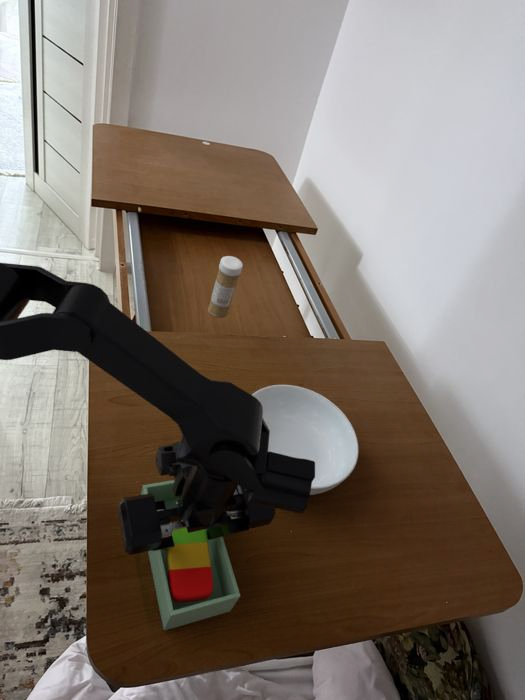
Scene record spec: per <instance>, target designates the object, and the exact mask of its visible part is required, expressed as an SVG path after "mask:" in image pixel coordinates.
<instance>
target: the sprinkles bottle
mask: <svg viewBox="0 0 525 700" xmlns="http://www.w3.org/2000/svg"><path fill="white" fill-rule="evenodd" d="M243 266H244V265H243V262H242V261H241V260H240V259H239V258H238V257H235V256H234V255H233V256H232V255H226V256H222V257H221V259H220V262H219V265H218V272H217V276H216V279H215V283H214V286H213V290H212V293H211V297H210V300H209V301H210V302H209V305H208V307H207V311H208V313H209V314H210V315H211V316H212V317H214V318H216V319H217V318H218V319H224V318H226V317H227V316H228V315H229V310H230V307H231V304H232V301H233V299H234V295H235V290H236V287H237V284H238V280H239V278H240V275H241V273H242V271H243V268H244V267H243Z"/></svg>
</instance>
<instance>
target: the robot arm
mask: <svg viewBox="0 0 525 700" xmlns="http://www.w3.org/2000/svg"><path fill="white" fill-rule="evenodd" d="M30 301H32V302H33V301H34V302H42V303H44V302H45V303H47V304H48V305H50V306H51V307H54V310H53V311H52V313H51V312H40V313H36V314H31V315H26V316H22V317H20V316H21V315H22V313H23V312H24V310H25V309H26V307H27V306H28V304H29V303H30ZM50 351H61V352H70V353H78V354H80V355H81V356H82V357H84V358H85V359H87V360H88V361H90V362H91V363H92V364H94V365H95V366H96V367H98V368H99V369H101V370H102V371H104V372H105V373H107V374H108V375H109V376H111V377H112V378H113V379H115V380H117V381H118V382H119V383H120V384H122V385H124V386H125V387H126V388H128V389H129V390H131V391H132V392H133V393H135V394H136V395H137V396H138V397H140V398H142V399H143V400H145V401H146V402H148V403H149V404H150V405H152V406H153V407H155V408H156V409H158V410H159V411H160V412H162V413H163V414H165V415H166V416H168V418H170V419H171V420H172V421H173V422H175V424H176V425H177V426H178V428H179V431H180V432H181V439H180V441H175V442H172V444H167V445H163V446H162V445H161V446H158V447H157V449H156V450H157V451H156V453H155V454H156V455H155V466H156V468H157V471H158V474H159V475H160V476H168V477H173V480H175V481H174V484H173V487H172V488H173V492H174V496H179V500H177V502H176V505H177V508H172V509H166V507H165V503H164V500H162V501H157V502H155V499H154V496H153V495H152V493H149V494H144V495H141V494H139V495H133V496H132V495H131V496H127V497H123V498H122V499H121V500H120V502H119V503H118V506H117V507H118V508H117V514H118V520H119V526H120V533H121V536H122V543H123V549H124V552H125V553H126V554H128V555H130V556H132V555H137V554H141V553H146V552H148V551H157V550H167V549H170V548H172V547H174V541H173V537H172V532H173V530H177V529H182V528H187V531H188V533H190V532H195V531H200V530H204V529H207V537H208V540H212V539H216V538H220V537H223V538H224V537H226V536H227V537H228V536H231V535H234V534H235V535H236V534H239V533H242V532H246V531H247V532H248V531H249V530H250V529H255V528H261V527H264V526H268V525H271V523H272V521H273V520H274V518H275V517H276V514H277V513H276V512H277V511H276V509H278V510H282V511H287V512H291V513H295V514H299V515H303V514H304V512H305V511H306V510H307V508H308V501H309V498H310V496H311V495H310V491H311V485H312V481H313V480H314V478H315V462H314V461H311V460H307V459H301V458H294V457H290V456H286V455H282V454H278V453H274V452H270V451H269V452H268V446H269V435H270V430H269V428H268V427H267V425H266V423H265V421H264V419H263V418H262V416H263V407H262V404H261V403H260V402H259V400H258V399H257V398H255V397H254V396H252V394H251V393H249V392H248V391H246V390H244V389H242V388H241V387H239V386H237V385H236V384H234V383H232V382H230V381H226V380H215V379H210V378H207V377H206V376H205V375H203V374H202V373H200V372H199V371H197V370H196V369H195V368H194V367H192V366H191V365H190V364H189V363H187V362H186V361H185V360H183V358H181V357H180V356H178V355H177V354H176V353H175V352H173V351H172V350H171V349H169V348H168V347H167V346H166V345H165V344H163V343H162V342H161V341H160V340H158V339H157V338H155V337H154V336H153V335H152V334H151V333H149V332H148V331H147V330H146V329H144V328H143V327H142V326H141V325H139V324H138V323H137V322H135V320H133V319H132V318H130V317H129V316H128V315H127V314H125V313H124V312H123V311H122V310H121V309H119V308H118V307H116V306H115V305H114V304H113V303H111V301H110V298H109V296H108V294H107V293H106V292H105V291H104V289H102V288H101V287H99V286H98V285H95V284H92V283H88V282H81V281H71V280H66V279H64V278H62V277H60V276H58V275H57V274H54V273H53V272H51V271H49V270H47V269H45V268H44V267H41V266H39V265H38V266H37V265H28V264H17V263H10V262H9V263H8V262H0V361H13V360H17V359H21V358H24V357H30V356H33V355H38V354H42V353H46V352H50ZM172 522H173V523H172Z"/></svg>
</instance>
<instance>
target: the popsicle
mask: <svg viewBox="0 0 525 700" xmlns="http://www.w3.org/2000/svg"><path fill="white" fill-rule="evenodd" d="M172 537H173V541H174V547H172V548H170V549H167V550H166V553H167V569H168V585H169V592H170V597H171V599H172V600H173V601H174V602H179V603H182V602H192V601H201V600H205V599H207V598H209V596H210V595H211V593H212V591H213V578H212V570H211V562H210V553H209V545H208V537H207V529H204V530H200V531H195V532H190V533H188V531H187V528H182V529H177V530H173V532H172Z"/></svg>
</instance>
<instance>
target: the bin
mask: <svg viewBox="0 0 525 700" xmlns="http://www.w3.org/2000/svg"><path fill="white" fill-rule="evenodd" d="M174 481H175V479H173V480H167V481H160V482H153V483H149V484H143V485H142V488H141V492H140V495H144V494H149V493H152V495H153V496H154V499H155V502H157V501H162V500H164V503H165V507H166V509H172V508H177V505H176V502H177V500H179V496H174V492H173V488H172V487H173V484H174ZM172 523H173V522H172ZM208 545H209V553H210V562H211V570H212V578H213V591H212V593H211V595H210V596H209V598H207V599H205V600H201V601H192V602H182V603H179V602H174V601H173V600H172V599H171V597H170V592H169V585H168V569H167V553H166V550H157V551H147V555H148V560H149V563H150V569H151V574H152V579H153V585H154V590H155V595H156V600H157V605H158V609H159V614H160V620H161V624H162V630H163V631H164V632H165V631H168V630H171V629H172V630H173V629H174V628H178V627H182V626H185V625H189V624H192V623H195V622H199V621H203V620H205V619H209V618H213V617H215V616H219V615H222V614H225V613H230V612H231V611H232V610H233V608H234V606H235V605H236V604H237V602H238V600H239V599H240V598H241V593H240V589H239V586H238V583H237V580H236V577H235V573H234V569H233V566H232V563H231V560H230V555H229V553H228V550H227V547H226V544H225V540H224V536H223V537H220V538H216V539H212V540H208Z"/></svg>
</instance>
